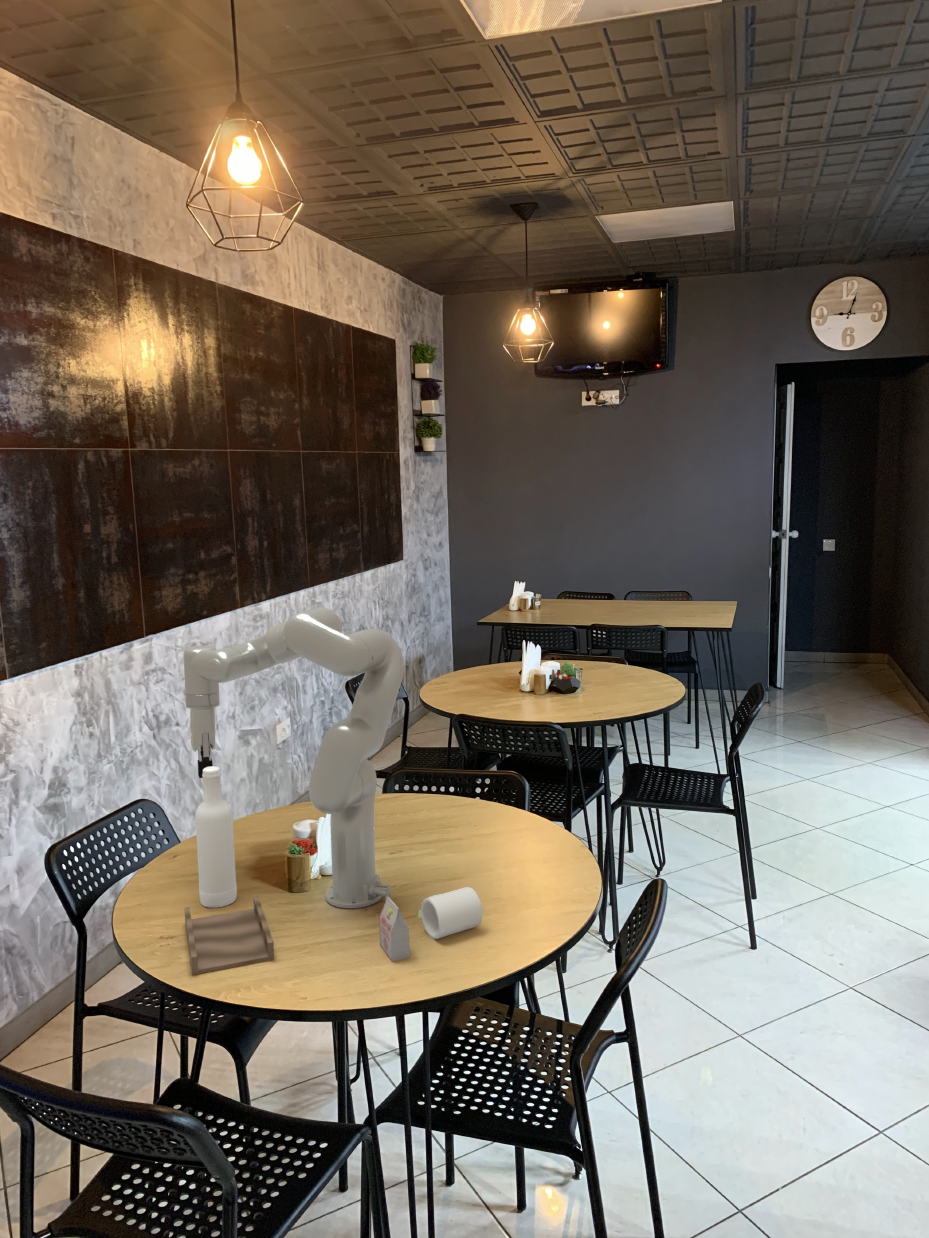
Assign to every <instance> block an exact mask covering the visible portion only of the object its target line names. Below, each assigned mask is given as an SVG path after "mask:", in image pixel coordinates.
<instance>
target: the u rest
mask: <svg viewBox="0 0 929 1238" xmlns="http://www.w3.org/2000/svg"><path fill="white" fill-rule="evenodd" d="M252 899H253V900H252V901H253V908H249V909H244V910H242V909H241V910H237V911H233V912H232V911H231V912H225V913H220V914H215V915H214V914H212V915H208V916H202V917H196V918H192V915H191V908H190V907H184V922H185V930H186V937H187V945H188V953H189V960H190V967H191V975H192V976H195V975H200V974H206V973H212V972H217V971H221V970H227V969H231V968H238V967H243V966H248V965H254V964H258V963H264V962H267V961H275V947H274V946H275V945H274V944H275V942H274V940H273V937H272V934H271V930H270V927H269V925H268V922H267V919H266V916H265V912H264V909H263V906H262V904H261V901H260V898H259V895H254V896H252Z"/></svg>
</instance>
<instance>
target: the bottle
mask: <svg viewBox="0 0 929 1238" xmlns="http://www.w3.org/2000/svg"><path fill="white" fill-rule="evenodd" d="M202 777H203V778H202V780H203V798H204V800H203V801H202V802H201V803H200V804H199V805H198V807H197V810H196V814H195V816H194V817H195V818H194V819H195V829H196V830H195V833H196V849H197V851H196V852H197V868H198V872H197V873H198V885H199V887H198V895H199V902H200V904H201V905H202V906H203V907H206V908H210V909H211V908H212V909H215V908H216V909H217V908H223V907H226V906H229V905H232V904H233V903H234V902H235V901H236V900H237V897H238V895H237V894H238V893H237V892H238V887H237V877H236V859H235V858H236V857H235V856H236V855H235V838H234V835H235V834H234V822H233V821H234V820H233V819H234V818H233V811H232V808H231V806H230V804H229V802H227V801H226V800H225V799H223V798H222V796H223V795H222V784H221V783H222V781H221V779H222V773H221V768H220V766H216V765H215V766H214V765H213V766H210V767H206V768H204V769H203V774H202Z"/></svg>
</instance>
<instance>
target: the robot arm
mask: <svg viewBox="0 0 929 1238" xmlns="http://www.w3.org/2000/svg"><path fill="white" fill-rule="evenodd" d="M342 630H343V625H342V621H341V618H340V617H339V615H338V614H337V613H336V612H335V611H333V610H331V609H328V608H315V609H314V608H313V609H311V610H306V611H301V612H298V613H295V614H294V615H291V617H289V618H288V620H285V621H283V622H280V623H277V624H275V625H273V626H270V627H269V628H268V629H267V630H266V632H265V634H264V635H261V636H259V637H257V638H254V639H251V640H249V641H245V642H243V643H239V644H235V645H231V646H227V647H224V648H219V649H217V648H216V647H214V646H213V645H194V646H193V645H192V646H189V647H186V649H185V650H184V652H183V668H184V669H183V671H184V672H183V673H184V692H185V693H184V695H185V696H184V697H185V708H187V709H189V714H190V715H189V719H190V720H189V721H190V723H189V724H190V744H191V749H192V750H193V752H194V753H195V752H197V755H198V759H197V775H198V778H199V779H203V777H202V774H203V769H204V768H206V767H210V766H214V765H213V758H212V751H213V750H214V749H215V748H216V716H215V715H216V713H215V709H216V708H217V707H220V705H221V702H220V684H221V683H224V684H225V683H229V682H232V681H235V680H237V679H241V678H244V677H247V676H250V675H254V674H257V673H258V672H262V671H264V670H266V669H270V668H272V667H274V666H277V665H279V664H282V665H283V664H285V663H288V662H290V661H291V662H292V661H293V660H296V659H299V658H301V657H302V658H303V659H306V660H308V661H309V662H312V663H314V664H316V665H317V666H319V667H323V668H324V669H326V670H328V671H330V672H332V673H334V674H336V675H338V676H341V677H342V676H343V677H354V676H355V677H356V676H358V675H361V674H363V673H364V676H363V678H362V679H361V682H360V684H359V685H358V687H357V690H356V692H355V696H354V701H353V703H352V706H351V709H350V710H349V714H348V716H347V717H346V718H344V719H343V720H340V721H338V722H336V723H335V724H333V725H332V726H331V727H330V728H329V729H328V730H327V731H326V732H325V734H324V736H323V738H322V740H321V743H320V746H319V749H318V752H317V755H316V759H315V761H314V762H315V763H314V767H313V768H312V773H311V776H310V780H309V784H308V793H309V798H310V799H309V800H310V801H311V803H312V805H313V807H314V808H315V809H317V811H319V812H321V813H323V814H326V815H330V824H329V825H330V848H331V849H330V853H331V877H332V881H331V882H332V885H331V886H330V887H329V888H328V889H327V890H326V892H325V899H326V902H327V903H328V904H330V905H331V906H333V907H337V908H341V909H360V908H365V907H369V906H372V905H373V904H377V903H378V902H379V901H380V900H382V898H386V896H387V897H388V896H389V897H390V895H391V884H389V883H382V881H381V875H379V874H376V851H375V850H376V846H375V800H376V794H377V780H378V779H377V772H376V770H375V767H374V765H373V763H371V761H370V760H369V758H370V757H372V756H373V755H375V754H376V753H377V752H379V751H380V749H381V748H382V746H383V744H384V741H385V738H386V736H387V735H386V733H387V731H388V728H389V724H390V721H391V717H392V714H393V710H394V707H395V704H396V700H397V697H398V694H399V691H400V688H401V684H402V681H403V675H404V658H403V653H402V651H401V649H400V646H399V644H398V643H397V642H396V640H395V639H394V637H393V636H392V635H390V634H389V633H388V632H386V631H384V630H381V629H377V628H368V629H362V630H358V631H356V632H353V633H349V634H345V633H343V632H342Z"/></svg>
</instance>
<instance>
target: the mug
mask: <svg viewBox="0 0 929 1238" xmlns="http://www.w3.org/2000/svg"><path fill="white" fill-rule="evenodd" d="M482 906H483V905H482V902H481V900H480V897H479V895H478V893H477V892H476V891H475V889H473V888H472V887H470V886H464V887H461V888H458V889H454V890H451V891H448V892H444V893H439V894H434V895H431V896H429V897H426V898H424V899H423V900H422V902H421V907H420V916H421V922H422V924H423V927H424V930H425V932H426V933H427V935H428V936H429V937H430V938H431V939H434V940H438V939H441V938H444V937H447V936H450V935H454V934H457V933H460V932H463V931H467V930H470V929H473V928H476V927H479V926H480V925H481V923H482V921H483V907H482ZM479 924H480V925H479ZM477 925H478V926H477ZM474 926H475V927H474ZM471 927H472V928H471Z"/></svg>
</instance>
